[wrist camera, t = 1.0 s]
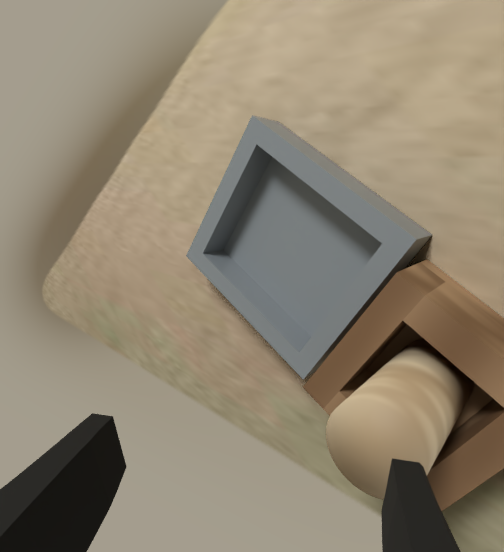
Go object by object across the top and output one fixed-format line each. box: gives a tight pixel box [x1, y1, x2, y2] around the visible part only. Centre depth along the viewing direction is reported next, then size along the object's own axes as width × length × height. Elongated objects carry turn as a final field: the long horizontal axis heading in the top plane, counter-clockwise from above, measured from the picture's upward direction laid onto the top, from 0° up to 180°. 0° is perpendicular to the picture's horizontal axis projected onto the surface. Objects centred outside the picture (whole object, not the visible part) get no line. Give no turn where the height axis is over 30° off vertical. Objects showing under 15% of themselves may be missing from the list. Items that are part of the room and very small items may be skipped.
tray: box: [186, 115, 432, 380], centre depth 22 cm, size 10×9×2 cm
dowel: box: [326, 338, 474, 499], centre depth 16 cm, size 3×3×7 cm
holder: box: [303, 260, 504, 511], centre depth 17 cm, size 7×7×4 cm
